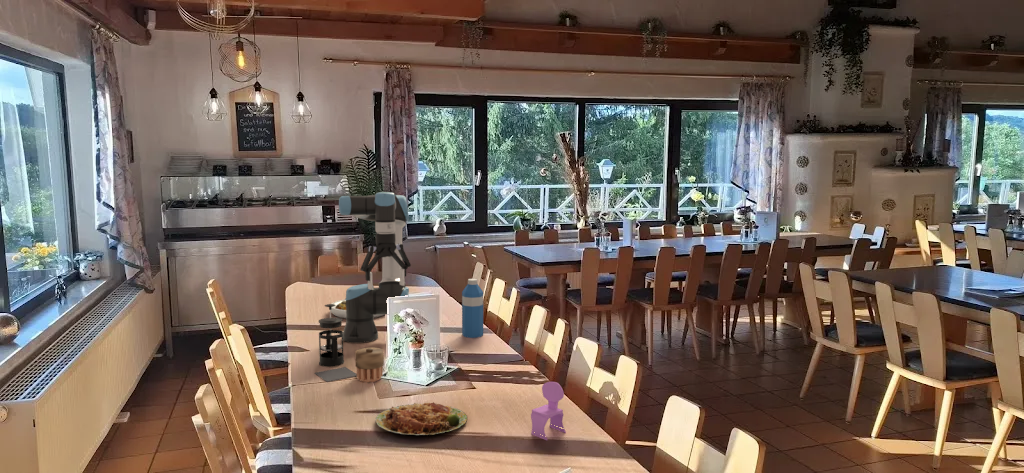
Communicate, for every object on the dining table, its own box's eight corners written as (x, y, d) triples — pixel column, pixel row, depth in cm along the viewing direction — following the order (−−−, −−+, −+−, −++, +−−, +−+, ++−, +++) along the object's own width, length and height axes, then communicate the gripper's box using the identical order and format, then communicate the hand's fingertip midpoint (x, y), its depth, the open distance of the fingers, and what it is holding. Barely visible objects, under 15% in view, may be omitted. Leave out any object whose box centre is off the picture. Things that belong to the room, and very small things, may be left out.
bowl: (325, 310, 369) (324, 294, 368) (383, 305, 381) (383, 290, 380) (336, 323, 342) (335, 307, 341) (398, 317, 354) (398, 301, 353)
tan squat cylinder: (350, 364, 261) (350, 348, 261) (376, 359, 267) (375, 344, 267) (362, 371, 253) (362, 354, 253) (388, 366, 259) (388, 350, 259)
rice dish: (423, 403, 240) (423, 387, 239) (486, 420, 222) (485, 403, 222) (356, 428, 219) (355, 411, 218) (419, 449, 201) (418, 430, 200)
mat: (314, 373, 266) (314, 372, 266) (345, 367, 273) (345, 366, 273) (327, 382, 257) (327, 381, 257) (358, 375, 264) (358, 375, 264)
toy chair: (527, 433, 212) (527, 384, 210) (547, 425, 218) (548, 377, 216) (548, 442, 206) (548, 391, 204) (568, 433, 212) (569, 384, 211)
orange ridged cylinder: (352, 377, 262) (352, 364, 261) (375, 373, 267) (375, 359, 267) (363, 384, 255) (363, 370, 254) (386, 379, 260) (386, 366, 259)
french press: (316, 360, 282) (314, 302, 279) (340, 357, 286) (339, 300, 283) (323, 369, 271) (321, 309, 268) (348, 365, 276) (346, 306, 273)
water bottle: (482, 338, 316) (482, 281, 313) (461, 337, 316) (461, 281, 313) (483, 332, 326) (483, 277, 322) (463, 332, 326) (462, 277, 323)
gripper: (359, 235, 268) (360, 292, 271) (418, 231, 283) (419, 285, 285) (351, 233, 274) (352, 289, 277) (409, 229, 289) (410, 282, 291)
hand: (386, 287), depth 281 cm, fingers open, 13 cm apart
